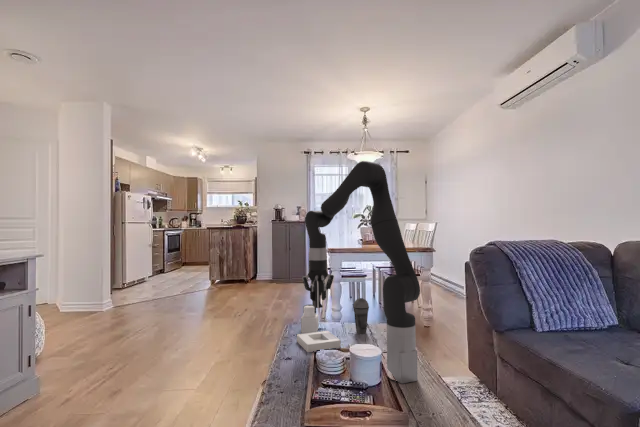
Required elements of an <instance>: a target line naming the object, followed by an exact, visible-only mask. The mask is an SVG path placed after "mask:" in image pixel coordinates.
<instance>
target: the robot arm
mask: <svg viewBox="0 0 640 427" xmlns="http://www.w3.org/2000/svg"><path fill="white" fill-rule="evenodd" d="M387 178H388V177H387V175H386V171H385V168H384V167H383V166H382V165H381V164H379V163H376V162H373V161H368V160H361V161H359V162H358V163H357V164H355V166H354V167H353V168H352V169H351V170H350V172H349V173H348V174H347V176H345V178H344V179H343V181H342V182H341V184H339V186H338V187H337V188H336V190H335V191H334V192H333V193H332V194H331V195H330V196H328V197H327V198H326V199H325V200H324V201H322V203H321V204H320V210H309V211H307V212H306V215H305V218H304V223H305V228H306V231H307V232H306V233H307V235H308V239H309V240H308V244H309V245H308V273H307V275H305V276H304V275H303V276H301V281H302V283H303V285H304V288H305V290H306V291H308V292H309V299H310V300H311V302H312V301H315V292H314V289H315V280H322V281H323V282H324V293H321V295H320V298H321V300H322V301H325V300H326V298H327V291H328V290H331V288H332V284H333V281H334V278H335V276H334V275H333V274H330V273H328V271H327V270H328V262H327V261H328V255H327V254H328V253H327V237H326V236H327V235H326V234H324V233H322V232H321V231H320V229H319V228H325V227H327V226H328V225H329V224H331V223H332V221H333V219H334V217H335V216H336V215H337V214H338V213H340V212H341V211H342V210H343V209H344V208H345V207H346V206H347V204H348V202H349V198H350V196H351V195H352V193H353V192H355V191H356V190H357V189H359V188H361V187H364V188H368V189H369V190H370V191H369V192H370V194H371V196H372V197H371V198H372V201H373V202H372V203H373V205H372V206H373V207H372V210H371V215H370V226H371V231H372V234H373V237H374V241H375V243H376V244H377V246H378V247H379V248H380V250H381V251H382V252H383V253H384V254H385V255H386V257H387V258H388V259H389V261H390V262H391V264H392V267H393V270H394V272H395V274H393V275H388V276H387V277H386V278H385V280H384V281H383V286H382V297H383V312H384V316H385V319H386V370H387V369H388V370H389V371H390V372H391V373H392V374H393V376H394V377H395V379H396V380H397V381H398V382H397V383H399V384H400V385H401V384H402V385H403V384H407V383H413V382H417V381H419V379H418V373H419V372H418V350H416V347H417V345H416V341H417V340H416V317H415V315H414V314H413V313H410V312H407V309H406V303H410V302H414V301H417V300H418V299H419V297H420V294H421V286H420V283H419V279H418V277H417V274H416V271H415V268H414V267H413V264H412V262H411V259H410V257H409V254H408V251H407V249H406V248H407V247H406V245H405V242H404V239H403V236H402V230H401V227H400V224H399V221H398V219H397V215H396V212H395V209H394V205H393V202H392V198H391V194H390V190H389V184H388V179H387ZM326 279H327V281H326ZM309 280H310V284H309Z"/></svg>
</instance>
